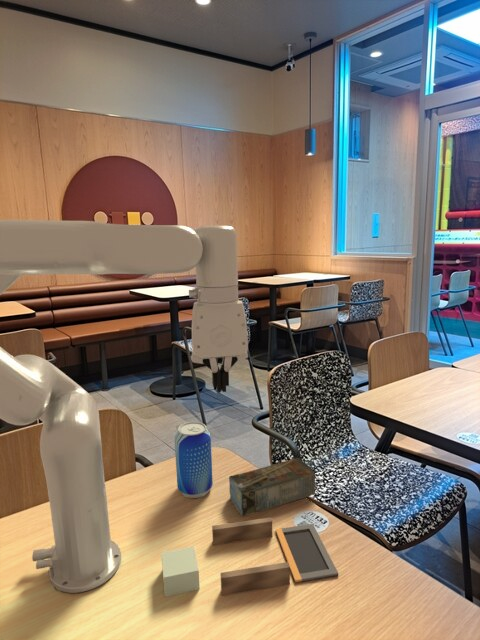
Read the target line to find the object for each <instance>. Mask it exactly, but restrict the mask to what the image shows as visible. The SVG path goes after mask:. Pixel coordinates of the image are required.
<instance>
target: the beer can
mask: <svg viewBox="0 0 480 640" xmlns="http://www.w3.org/2000/svg"><path fill="white" fill-rule="evenodd" d="M174 450H175V451H174V453H175V465H176V466H175V467H176V469H175V471H176V484H177V485H176V487H177V489H178V491H179V492H180V494H182V496H184V497H186V498H188V499H189V498H190V499H196V498H202V497H204V496H206V495H207V494H208V493H209V491H210V490H211V489H212V487H213V483H214V481H213V464H212V463H213V462H212V461H213V460H212V458H213V457H212V438H211V433H210V431H209V430H208V429H207V426H206V424H205V423H203V422H199V421H188V422H184V423H182V424H180V425H179V426H178V427H177V432H176V434H175V435H174Z"/></svg>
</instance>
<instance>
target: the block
mask: <svg viewBox="0 0 480 640" xmlns="http://www.w3.org/2000/svg"><path fill="white" fill-rule="evenodd" d="M160 554H161V555H160V556H161V566H162V567H161V568H162V580H163V589H164V597H170V596H174V595H178V594H183V593H188V592H192V591H197V590H200V588H201V587H200V586H201V585H200V573H199V571H200V570H199V565H198V560H197V555H196V550H195V545H194V546H189V547H182V548H178V549H172V550H167V551H162V552H161V553H160Z"/></svg>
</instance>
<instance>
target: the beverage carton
mask: <svg viewBox="0 0 480 640" xmlns="http://www.w3.org/2000/svg"><path fill="white" fill-rule="evenodd" d="M228 483H229V486H228V487H229V496H230V500H231V502H232V503H233V504H234V506H235V508H236V509H237V511H238V512H239V514H240V515H241V516H242V517H245V516H249V515H252V514H254V513H255V514H256V513H259V512H262V511H265V510H269V509H272V508H274V507H275V508H276V507H277V506H282V505H284V504H287V503H290V502H294V501H297V500H300V499H303V498H307V497H311V496H314V495H316V472H315V470H313V469H312V468H311V467H310V466H309V465H308V464H307V463H306V462H305V461H304V460H303V459H301V458H300V457H296V458H293V459H288V460H285V461H282V462H278V463H274V464H271V465H267V466H264V467H260V468H256V469H253V470H249V471H245V472H242V473H237V474H233V475H229V477H228Z"/></svg>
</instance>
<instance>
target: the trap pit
mask: <svg viewBox="0 0 480 640" xmlns="http://www.w3.org/2000/svg"><path fill="white" fill-rule="evenodd" d="M275 534H276V536H277V539H278V542H279V545H280V547H281V549H282V552H283V555H284V557H285V561H286V562H288V564H289V566H290V574H291V575H292V577H293V580H294V583H295V584H297V583H298V584H299V583H303V582H304V583H305V582H309V581H316V580H323V579H327V578H328V579H329V578H333V577H334V578H335V577H339V572H338V569H337V568H336V566H335V563H334V562H333V560H332V558H331V556H330V554H329V552H328V550H327V549H326V546H325V545H324V542H323V541H322V539H321V537H320V535H319V533H318V531H317V529H316V527H315V525H314V524H313V523H310V524H309V523H308V524H301V525H296V526H288V527H282V528H276V529H275Z"/></svg>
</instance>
